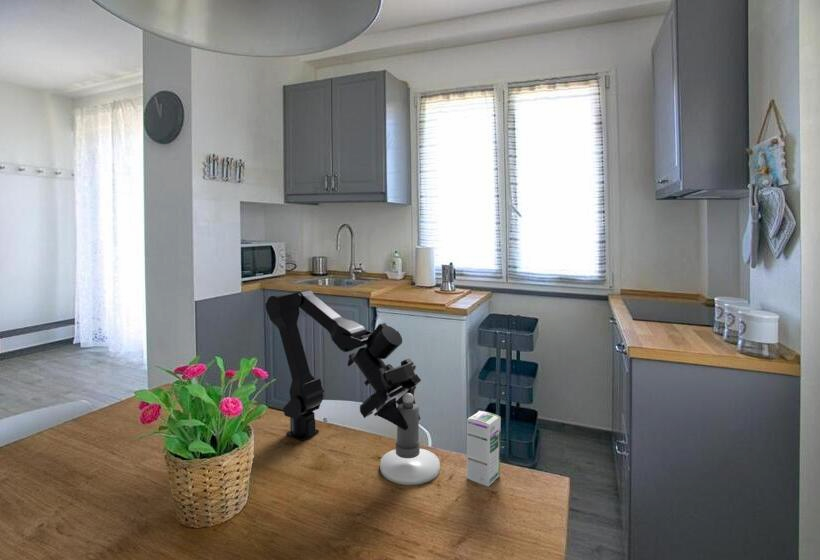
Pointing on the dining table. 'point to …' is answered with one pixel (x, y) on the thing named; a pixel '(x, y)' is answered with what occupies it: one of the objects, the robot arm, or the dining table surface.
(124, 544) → the dining table surface
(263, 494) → the dining table surface
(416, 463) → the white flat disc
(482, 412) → the syrup box
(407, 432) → the pepper mill
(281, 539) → the dining table surface
